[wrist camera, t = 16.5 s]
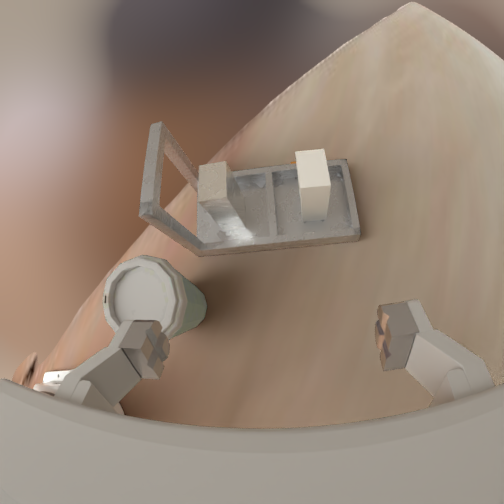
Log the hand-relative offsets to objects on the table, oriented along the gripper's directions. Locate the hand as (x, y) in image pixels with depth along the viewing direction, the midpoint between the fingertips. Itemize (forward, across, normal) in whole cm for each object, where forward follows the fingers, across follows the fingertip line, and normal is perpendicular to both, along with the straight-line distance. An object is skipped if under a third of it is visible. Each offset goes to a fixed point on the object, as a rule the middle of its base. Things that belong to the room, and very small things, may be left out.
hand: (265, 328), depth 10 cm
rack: (+34, +2, +10) cm, 36 cm away
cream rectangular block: (+34, -4, +9) cm, 35 cm away
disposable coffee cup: (+25, +16, +20) cm, 36 cm away
